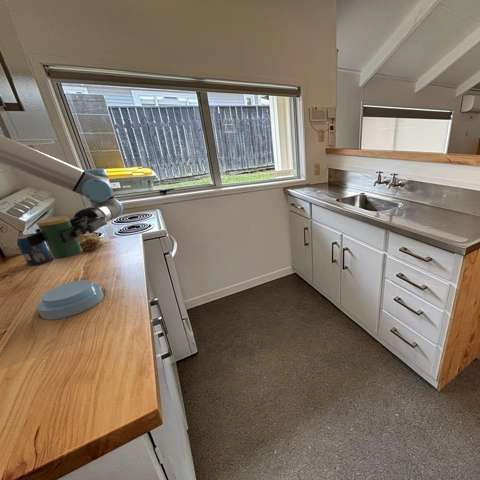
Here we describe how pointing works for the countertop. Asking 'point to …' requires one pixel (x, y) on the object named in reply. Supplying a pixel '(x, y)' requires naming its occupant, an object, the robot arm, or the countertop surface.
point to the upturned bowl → (69, 299)
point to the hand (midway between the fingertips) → (47, 239)
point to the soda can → (33, 251)
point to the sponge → (89, 241)
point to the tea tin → (58, 237)
